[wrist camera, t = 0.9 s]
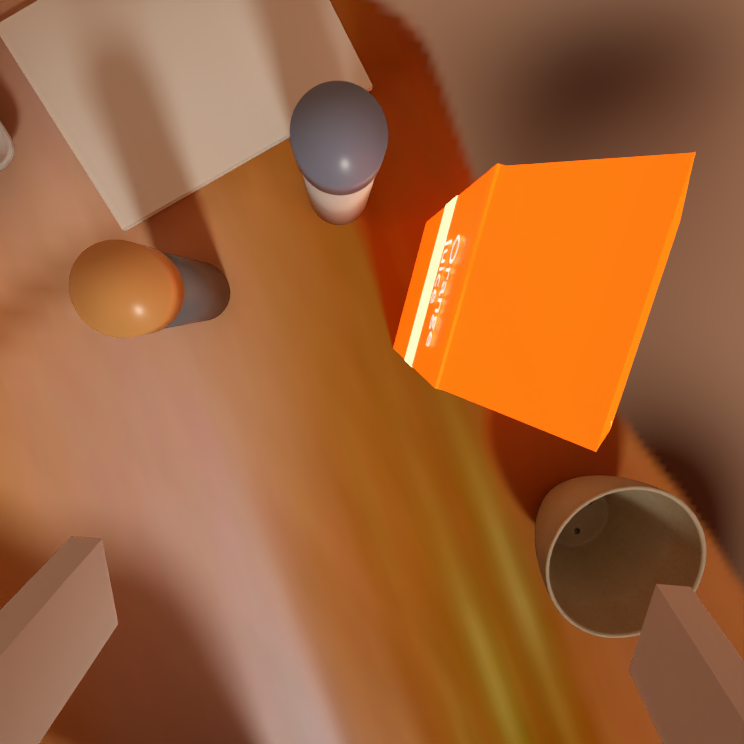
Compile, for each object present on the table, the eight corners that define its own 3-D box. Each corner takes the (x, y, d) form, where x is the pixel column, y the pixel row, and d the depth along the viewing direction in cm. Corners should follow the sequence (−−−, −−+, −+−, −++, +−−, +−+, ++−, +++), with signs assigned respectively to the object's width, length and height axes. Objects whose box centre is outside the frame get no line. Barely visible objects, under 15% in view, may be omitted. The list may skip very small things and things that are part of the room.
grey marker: (327, 237, 32) (321, 203, 20) (296, 181, 31) (270, 111, 19) (380, 207, 32) (405, 155, 20) (350, 150, 31) (358, 61, 19)
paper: (126, 230, 31) (122, 229, 30) (0, 31, 29) (-7, 25, 28) (372, 89, 31) (372, 85, 30) (264, -123, 28) (262, -132, 28)
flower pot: (517, 441, 35) (563, 479, 28) (647, 454, 36) (723, 493, 29) (495, 569, 36) (534, 634, 29) (621, 578, 37) (687, 644, 30)
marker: (190, 333, 32) (105, 355, 20) (157, 279, 31) (48, 270, 20) (243, 303, 32) (188, 308, 20) (210, 249, 31) (133, 221, 20)
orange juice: (390, 348, 33) (467, 426, 14) (424, 220, 32) (563, 100, 12) (497, 375, 34) (716, 485, 14) (534, 251, 33) (827, 185, 13)
